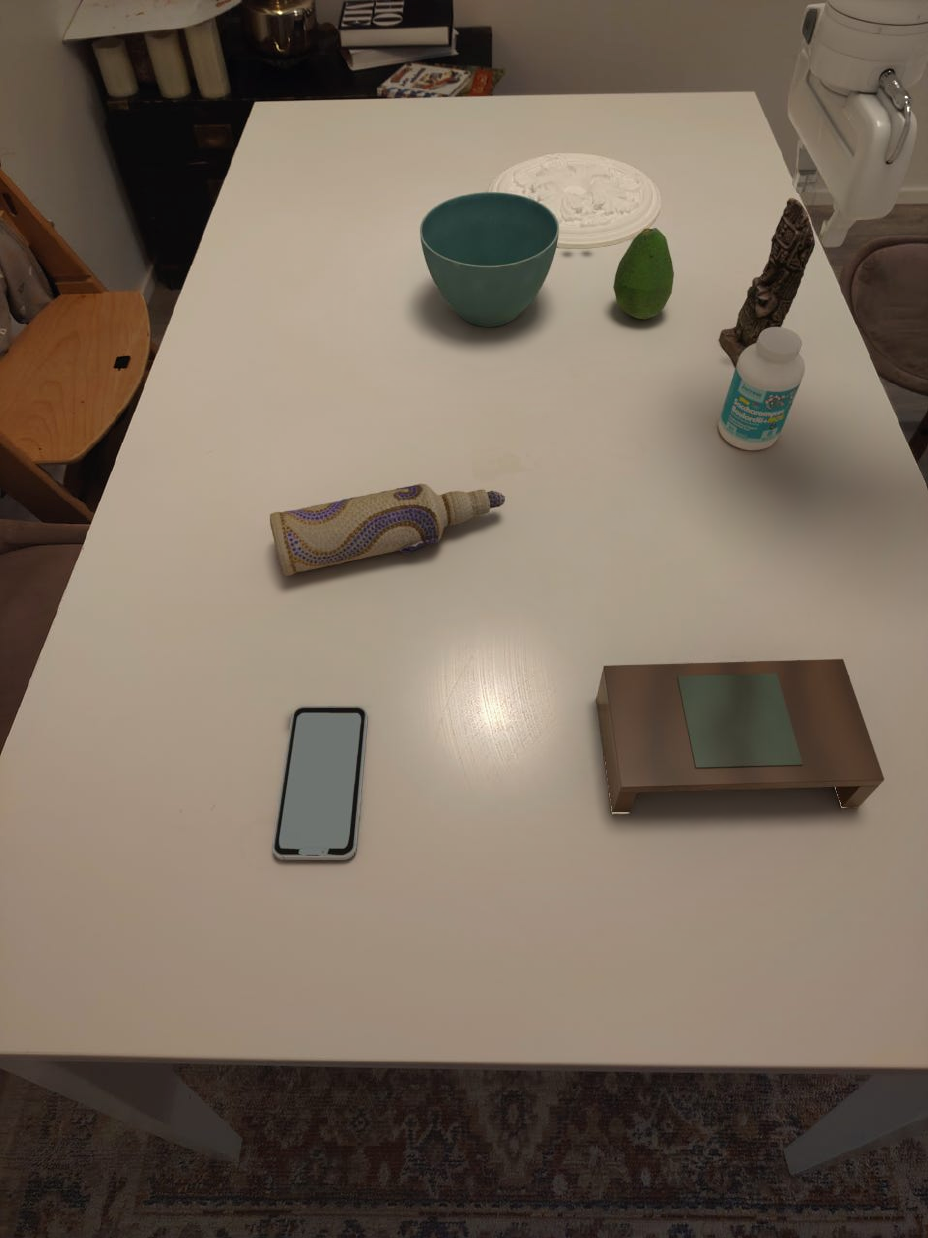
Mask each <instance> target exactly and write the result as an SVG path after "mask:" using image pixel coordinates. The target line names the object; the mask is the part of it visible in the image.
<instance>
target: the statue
mask: <svg viewBox="0 0 928 1238" xmlns="http://www.w3.org/2000/svg"><path fill="white" fill-rule="evenodd" d="M813 230H814V229H813V227H812V224H811V221H810V218H809V213H808V211H807V210H806V208H805V207H804V206H803V205H802V203H801V202H800V201H799V200H797V199H796V198H794V197H790V198H788V200H786V206H785V207H784V209H783V212H782V214H781V217H780V219H779V222H778V223H777V226H776V228H775V232H774V234H773V235H772V237H771V239H770V241H771V246H770V253H769V256H768V260H767V262H766V264H765V266H764V267H763V270H762V273H761V274H760V275H759V276H756V277H753V279H752V280H751V285H750V286H749V288H748V289H747V292H746V294H747V295H746V298H745V300H744V303H743V304H742V306H741V309H740V310H739V312H738V314H737V320H736V324H735V326H733V327H731V328H724V329H722V330H721V332H720V334H719V337H718V338H719V341H720V344H721V347H722V349H724V350H725V352H726V353H727V355H728V356H729V357H730V358H731V360H732V362H733V364H734V366H735V367H736V365H737V362H738V359H739V357H740V355H741V353H742V352H743V351H744V350H745V349H746V348H747V347H749V346H750V345H752V344H755V343H756V342H757V340H758V337H759V335H760V333H761V332H762V331H763V330H765V329H767V328H770V327H782V326H783V324H784V321H785V319H786V317H787V315H788V313H789V312H790V309H791V307H792V304H793V302H794V300H795V298H796V296H797V294H798V290H799V288H800V286H801V284H802V279H803V277H804V275H805V271H806V268H807V264H808V263H809V260H810V258H811V256H812V254H813V252H814V249H815V246H816V239H815V235H814V231H813Z"/></svg>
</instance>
